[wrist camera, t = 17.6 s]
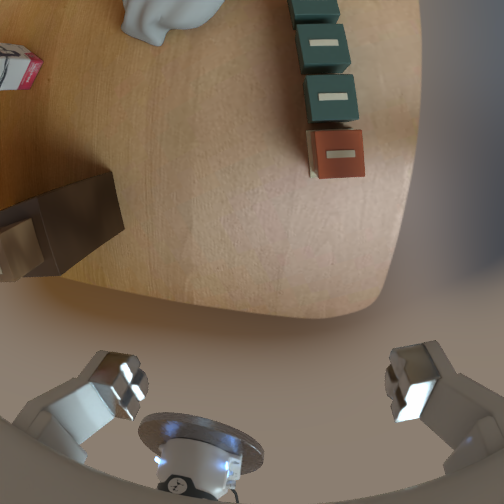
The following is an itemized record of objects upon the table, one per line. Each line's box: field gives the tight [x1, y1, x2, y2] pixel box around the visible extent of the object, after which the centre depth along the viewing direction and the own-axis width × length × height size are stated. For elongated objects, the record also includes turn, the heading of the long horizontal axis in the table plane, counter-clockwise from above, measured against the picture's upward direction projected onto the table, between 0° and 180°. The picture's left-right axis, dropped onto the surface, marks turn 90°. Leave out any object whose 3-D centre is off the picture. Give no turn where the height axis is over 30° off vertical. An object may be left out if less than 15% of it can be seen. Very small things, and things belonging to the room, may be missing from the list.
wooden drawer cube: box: [310, 130, 365, 179], centre depth 23 cm, size 4×4×4 cm
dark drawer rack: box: [0, 172, 125, 282], centre depth 24 cm, size 7×22×16 cm, turn 98°
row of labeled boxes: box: [287, 0, 359, 178], centre depth 20 cm, size 19×5×4 cm, turn 8°
